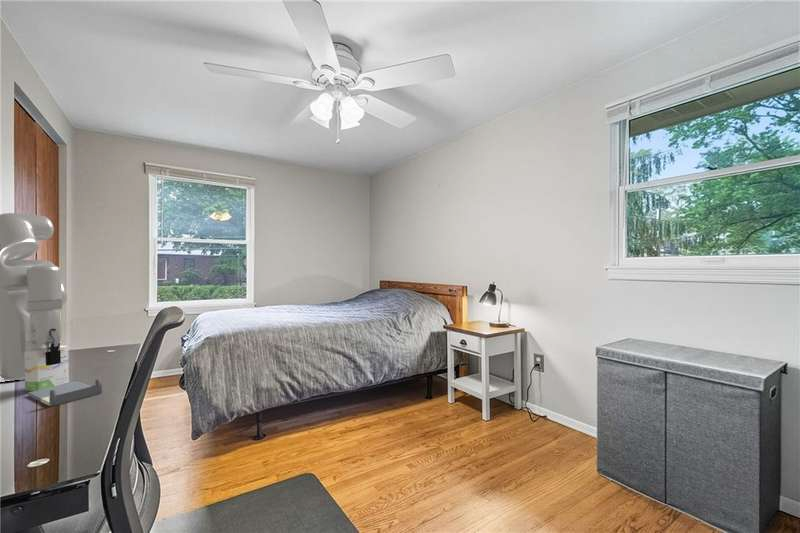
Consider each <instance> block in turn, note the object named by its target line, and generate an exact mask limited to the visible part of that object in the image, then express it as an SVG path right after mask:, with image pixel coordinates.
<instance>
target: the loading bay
mask: <svg viewBox="0 0 800 533" xmlns="http://www.w3.org/2000/svg"><path fill="white" fill-rule="evenodd" d="M94 383H95V384H93V385H90V384H86V383H83V382H80V381H78V380H77V381H72V382H68V383H65V384H62V385H58V386H54V387H50V388H45V389H41V390H37V391H27V394H28V395H27V396H28V397H29V398H32V399H34V400H36V401H38V402H41V403H42V404H44V405H46V406H49V407H56V406H59V405H62V404H67V403H70V402H73V401H77V400H81V399H85V398H89V397H93V396H96V395H101V394H102V393H103V387H102V386H103V384H102V379H101V378H97V379H95V382H94ZM100 393H101V394H100Z"/></svg>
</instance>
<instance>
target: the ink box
mask: <svg viewBox="0 0 800 533" xmlns="http://www.w3.org/2000/svg"><path fill="white" fill-rule="evenodd" d="M49 346H50V345H49ZM45 352H47V350H46V346H45V344H43V345H35V344H33V343H32V340H29V341H26V342H25V380H24V383H25V384H24V388H25V389H24V390H25V391H27V392H32V391H37V390H41V389H45V388H50V387H54V386H58V385H63V384H67V383H70V381H69V380H70V379H69V374H70V373H69V345H60V354H61V363H59V364H54V365H49V366H47V365H46V357H45Z"/></svg>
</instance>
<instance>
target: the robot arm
mask: <svg viewBox="0 0 800 533" xmlns="http://www.w3.org/2000/svg"><path fill="white" fill-rule="evenodd" d="M54 230H55V227H54V224H53V222H52V220H51V219H50V218H48V217H47V216H45V215H39V214H31V213H30V214H27V213H18V212H17V213H14V212H13V213H12V212H8V213H5V212H4V213H1V214H0V376H1V377H2V378H4V380H10V381H13V380H20V381H25V342H26V341H29V340H32V343H33V344H35V345H43V344H45V346H46V350H47V352H45V357H46V365H47V366H49V365H54V364H59V363H61V354H60V346H61V340H62V325H61V316H60V314H61V313H60V311H63V308H64V307H63V306H64V305H65V304H66V303H67V300H68V292H67V289H66V287H65V283H64V282H63V279H62V269H61V268H60V267H59V266H57V265H55V264H54V262H51V261H50V260H47V259H27V258H30V257H31V256H33V255H35V254H37V252H38V251H39V249H40V244H39V241H45V240H48V239H51V238H52V237H53V235H54ZM49 345H50V346H49Z"/></svg>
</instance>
